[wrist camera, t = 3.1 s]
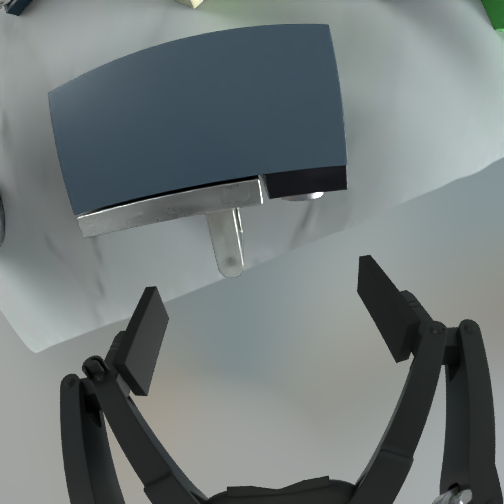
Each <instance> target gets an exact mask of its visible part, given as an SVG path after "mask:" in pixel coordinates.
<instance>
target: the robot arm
mask: <svg viewBox="0 0 504 504" xmlns="http://www.w3.org/2000/svg"><path fill="white" fill-rule="evenodd" d="M4 231H5V221H4V212H3V206H2V202H1V198H0V246H1V244H2V241H3V238H4ZM357 292H358V294H359V296H360V297H361V299H362V301H363V303H364V304H365V306H366V308H367V309H368V311H369V313H370V315H371V317H372V318H373V320H374V322H375V324H376V326H377V327H378V329H379V331H380V333H381V335H382V337H383V339H384V340H385V342H386V344H387V346H388V348H389V350H390V352H391V354H392V355H393V358H394V359H395V361H396V363H398V362H401V361H404V360H407V359H409V356H410V353H411V352H412V354H413V356H414V359H413V361H412V364H411V366H410V371H409V374H408V376H407V379H406V382H405V385H404V387H403V390H402V393H401V396H400V398H399V400H398V403H397V405H396V408H395V410H394V412H393V415H392V417H391V420H390V421H389V424H388V426H387V428H386V430H385V432H384V434H383V437H382V438H381V440H380V442H379V444H378V446H377V448H376V450H375V452H374V454H373V456H372V457H371V459H370V461H369V463H368V465H367V467H366V468H365V470H364V471H363V473H362V474H361V476H360V478H359V479H358V480H357V482H356V484H355V485H353V484H351V483H349V482H346V481H341V480H329V476H324V477H320V478H314V479H309V480H303V481H301V482H298V483H295V484H293V485H290V486H287V487H284V488H282V489H269V488H262V487H254V486H240V487H239V486H238V487H227V491H224V492H221V493H218V494H216V495H214V496H212V497H210V498H209V499H208V498H207V497H206V496H205V495H204V494H203V493H202V492H201V491H200V490H199V489H197V488H196V487H195V486H194V484H193V483H192V482H191V481H190V480H189V479H188V478H187V477H186V475H185V474H184V473H183V472H182V470H181V469H180V468H179V467H178V465H177V464H176V463H175V462H174V460H173V459H172V458H171V456H170V455H169V454H168V452H167V451H166V450H165V448H164V447H163V446H162V444H161V443H160V441H159V440H158V439H157V437H156V436H155V434H154V433H153V431H152V430H151V428H150V427H149V426H148V424H147V422H146V421H145V419H144V418H143V416H142V415H141V413H140V412H139V410H138V408H137V407H136V405H135V403H134V402H133V400H132V398H131V397H130V396H129V393H130V389H131V390H132V392H133V393H134V394H135V395H138V396H147V395H148V391H149V387H150V383H151V379H152V375H153V372H154V368H155V365H156V361H157V358H158V354H159V350H160V347H161V343H162V340H163V337H164V333H165V330H166V327H167V324H168V320H169V317H168V315H167V312H166V310H165V307H164V305H163V302H162V300H161V297H160V295H159V292H158V289H157V287H156V286H154V287H146V288H145V290H144V293H143V295H142V297H141V299H140V301H139V303H138V305H137V307H136V309H135V311H134V313H133V316H132V318H131V320H130V322H129V324H128V327H127V329H126V331H120V332H119V333H118V334H117V336H115V338H114V341H113V343H112V345H111V347H110V350H109V352H108V354H107V356H106V358H105V360H104V361H103V359H102V358H101V357H100V356H92V357H89V358H88V359H86V360H85V362H84V363H83V365H82V371H83V372H84V373H85V374H86V376H87V378H82V379H80V378H79V377H78V376H77V375H76V374H69V375H67V376H65V377H64V378H63V380H62V381H61V386H60V422H61V440H62V452H63V460H64V469H65V476H66V482H67V488H68V493H69V498H70V503H71V504H125V501H124V498H123V495H122V492H121V489H120V486H119V483H118V479H117V475H116V472H115V468H114V464H113V460H112V456H111V451H110V447H109V442H108V437H107V432H106V427H105V421H104V415H103V412H104V414H105V417H106V419H107V421H108V423H109V425H110V427H111V429H112V431H113V433H114V435H115V437H116V439H117V441H118V443H119V444H120V446H121V448H122V450H123V452H124V453H125V455H126V457H127V459H128V460H129V462H130V464H131V465H132V467H133V469H134V470H135V472H136V473H137V475H138V477H139V478H140V480H141V481H142V483H143V484H144V492H145V493H146V495H147V497H148V498H149V500H150V501H151V503H152V504H393V502H394V500H395V498H396V496H397V495H398V493H399V491H400V489H401V487H402V485H403V483H404V481H405V479H406V477H407V475H408V472H409V470H410V468H411V466H412V463H413V455H414V452H415V449H416V447H417V445H418V442H419V439H420V437H421V434H422V431H423V428H424V425H425V423H426V420H427V416H428V414H429V411H430V407H431V404H432V401H433V397H434V394H435V390H436V386H437V382H438V378H439V374H440V370H441V365H445V374H446V430H445V445H444V455H443V463H442V471H441V479H440V496H438V497H437V498H436V499H435V500H434V502H433V503H432V504H503V497H502V492H501V487H500V482H499V478H498V474H497V470H496V466H495V418H494V407H493V396H492V388H491V380H490V374H489V368H488V362H487V357H486V352H485V348H484V344H483V339H482V335H481V331H480V328H479V325H478V324H477V323H476V322H474V321H473V320H469V319H466V320H463V321H461V323H460V325H459V327H456V328H455V327H453V328H446V326H445V325H444V324H443V323H441V322H438V321H433V319H432V318H431V317H430V315H429V314H428V313H427V311H426V310H425V309H424V308H423V306H421V304H420V303H419V301H418V300H417V299H416V297H415V296H414V295H413V294H412V293H410V292H408V291H407V290H405V291H401V292H399V290H398V289H397V288H396V287H395V285H394V284H393V283H392V282H391V280H390V279H389V278H388V276H387V275H386V274H385V273H384V272H383V270H382V269H381V268H380V266H379V265H378V264H377V263H376V261H375V260H374V259H373V258H372V257H371V255H366V256H360V257H359V273H358V287H357Z"/></svg>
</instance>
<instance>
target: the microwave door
mask: <svg viewBox="0 0 504 504" xmlns="http://www.w3.org/2000/svg"><path fill="white" fill-rule="evenodd" d="M262 204H263V202H262V195H261V188H260V181H259V177H258V175H254V176H248V177H241V178H235V179H229V180H223V181H217V182H212V183H206V184H201V185H196V186H191V187H186V188H181V189H176V190H171V191H166V192H162V193H157V194H153V195H149V196H144V197H140V198H136V199H132V200H128V201H124V202H120V203H116V204H112V205H108V206H105V207H101V208H97V209H94V210H90V211H87V212H84V213H83V214H81V215H80V216H79V217H77V220H78V223H79V226H80V229H81V232H82V235H83V237H84V238H88V237H92V236H96V235H101V234H105V233H109V232H114V231H118V230H123V229H128V228H133V227H137V226H142V225H147V224H152V223H157V222H162V221H167V220H173V219H178V218H183V217H189V216H194V215H200V214H206V217H207V222H208V226H209V231H210V235H211V240H212V244H213V248H214V253H215V257H216V261H217V265H218V269H219V272H220V273H221V274H222V275H223V276H225V277H228V278H234V277H237V276H239V275H240V274H241V273H242V272H243V269H244V258H243V227H242V221H241V216H240V210H239V208H242V207H248V206H255V205H262Z"/></svg>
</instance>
